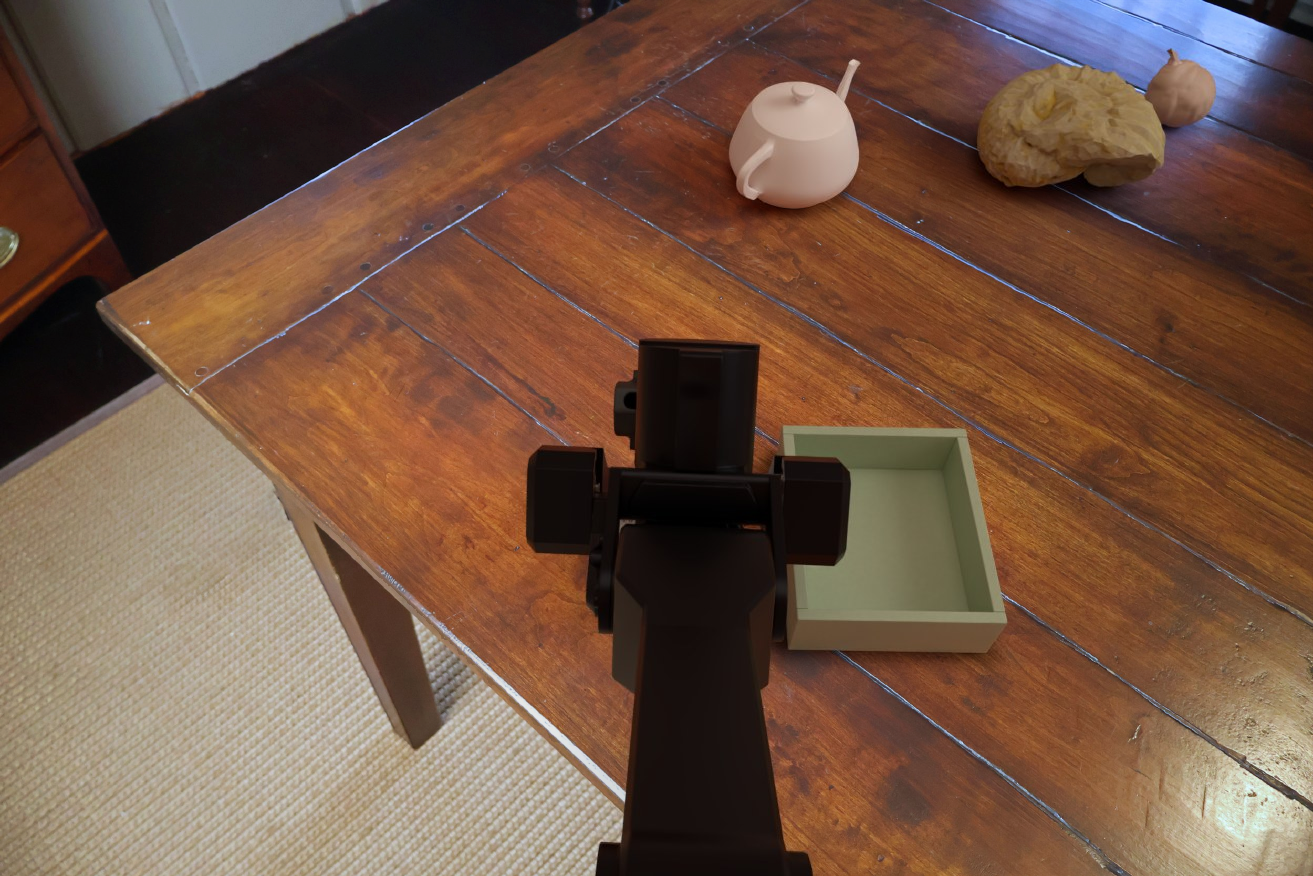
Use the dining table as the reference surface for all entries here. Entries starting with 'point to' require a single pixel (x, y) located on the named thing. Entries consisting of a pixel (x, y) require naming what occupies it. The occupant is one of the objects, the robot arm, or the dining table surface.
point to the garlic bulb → (1181, 92)
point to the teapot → (796, 144)
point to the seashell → (1070, 129)
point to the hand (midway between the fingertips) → (685, 478)
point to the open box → (899, 547)
